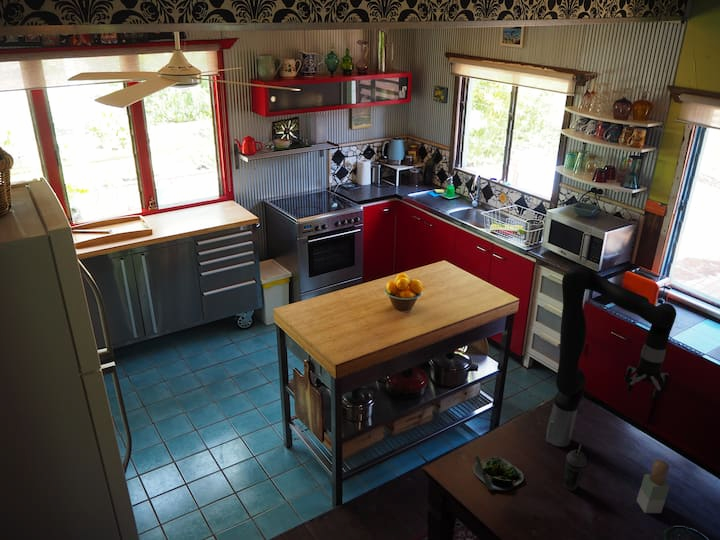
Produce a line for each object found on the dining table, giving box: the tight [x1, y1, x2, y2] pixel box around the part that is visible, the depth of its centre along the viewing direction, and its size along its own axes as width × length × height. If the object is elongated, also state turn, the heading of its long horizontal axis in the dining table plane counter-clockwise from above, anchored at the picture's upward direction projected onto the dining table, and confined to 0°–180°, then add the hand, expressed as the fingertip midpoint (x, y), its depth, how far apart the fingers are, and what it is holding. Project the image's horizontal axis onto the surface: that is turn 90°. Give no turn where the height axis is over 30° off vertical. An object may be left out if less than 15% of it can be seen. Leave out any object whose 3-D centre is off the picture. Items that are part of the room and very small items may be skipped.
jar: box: [649, 459, 670, 485], centre depth 209 cm, size 5×5×7 cm
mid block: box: [640, 473, 671, 501], centre depth 211 cm, size 6×6×6 cm
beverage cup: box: [563, 443, 587, 492], centre depth 218 cm, size 7×7×20 cm
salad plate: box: [473, 455, 525, 493], centre depth 225 cm, size 19×18×5 cm
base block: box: [636, 487, 666, 514], centre depth 214 cm, size 6×6×6 cm
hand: (641, 394), depth 222 cm, fingers open, 8 cm apart
